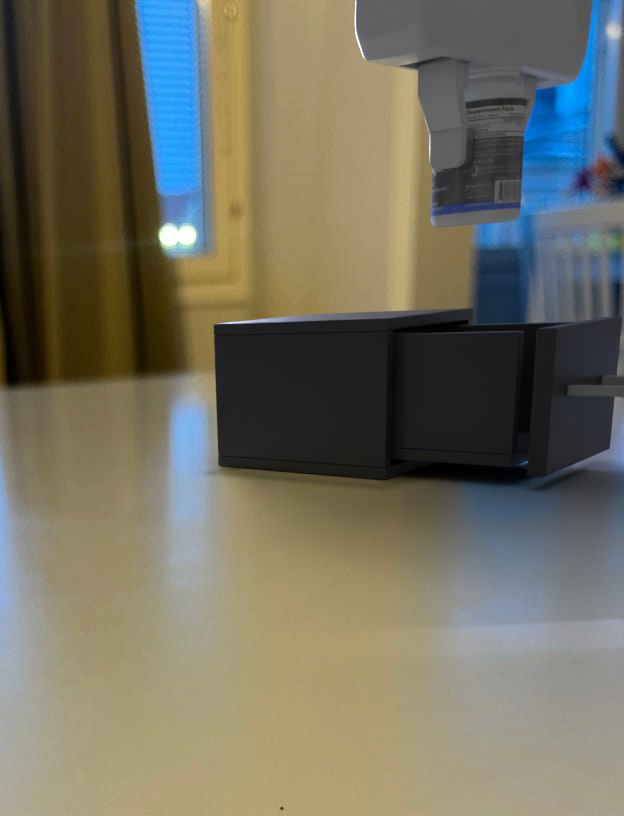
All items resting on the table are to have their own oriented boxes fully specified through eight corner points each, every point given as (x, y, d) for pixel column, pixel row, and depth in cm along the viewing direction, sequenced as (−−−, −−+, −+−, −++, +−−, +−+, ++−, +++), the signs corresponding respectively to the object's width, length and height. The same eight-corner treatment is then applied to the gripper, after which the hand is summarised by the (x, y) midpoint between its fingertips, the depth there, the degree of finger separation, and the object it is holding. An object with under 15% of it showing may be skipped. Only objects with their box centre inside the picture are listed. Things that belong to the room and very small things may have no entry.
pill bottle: (421, 229, 57) (424, 64, 54) (504, 222, 57) (511, 56, 54) (442, 225, 53) (447, 45, 50) (532, 218, 52) (542, 36, 49)
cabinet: (467, 451, 77) (474, 307, 73) (384, 479, 68) (388, 318, 64) (307, 442, 86) (307, 314, 83) (217, 465, 77) (212, 324, 74)
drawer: (683, 452, 66) (700, 314, 63) (625, 482, 58) (641, 325, 55) (430, 439, 78) (434, 322, 75) (354, 462, 70) (355, 332, 67)
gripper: (452, -222, 40) (444, 155, 45) (622, -112, 54) (602, 166, 59) (319, -167, 44) (323, 174, 49) (509, -78, 58) (498, 180, 63)
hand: (477, 170), depth 54 cm, fingers closed on pill bottle, 5 cm apart
